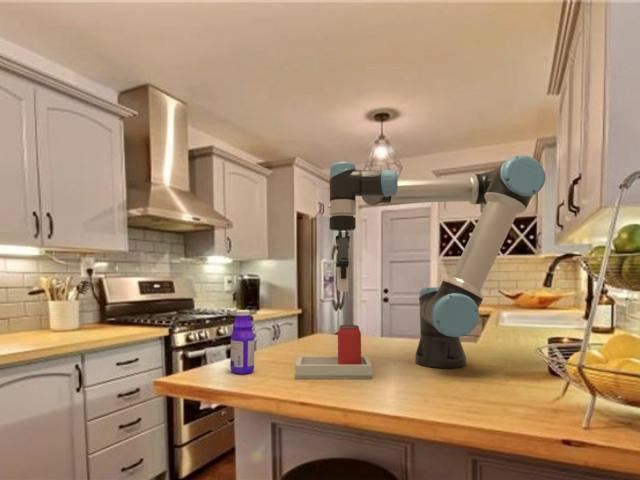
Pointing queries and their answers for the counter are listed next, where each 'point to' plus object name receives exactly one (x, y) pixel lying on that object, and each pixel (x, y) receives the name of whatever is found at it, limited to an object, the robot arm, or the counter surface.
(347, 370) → the tray
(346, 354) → the beer can
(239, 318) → the bottle
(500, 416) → the counter surface
